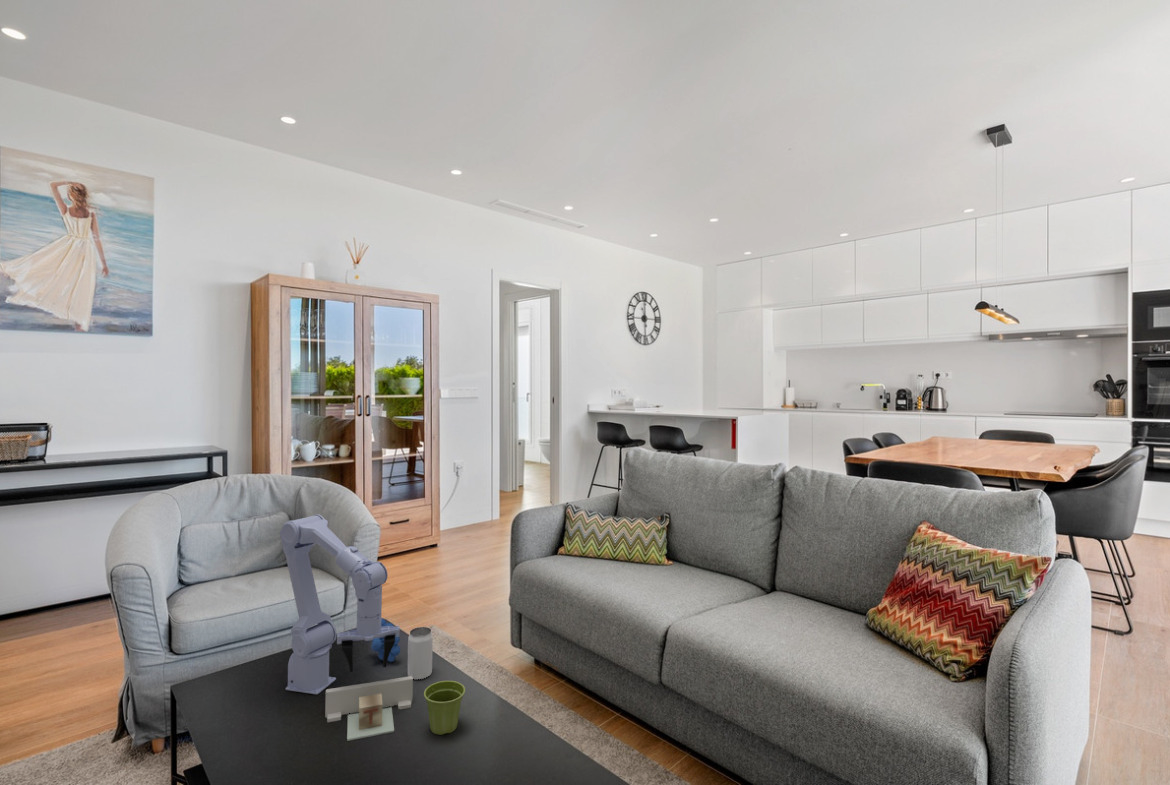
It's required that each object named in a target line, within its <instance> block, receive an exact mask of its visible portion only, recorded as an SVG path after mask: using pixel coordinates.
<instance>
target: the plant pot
mask: <svg viewBox="0 0 1170 785" xmlns="http://www.w3.org/2000/svg"><path fill="white" fill-rule="evenodd" d="M465 693H466V687H465V686H464V684H462V683H460V682H458V681H455V680H441V681H437V682H434V683H431V684H430V685H428V686H427V687H426V688H425V689H424V692H423V696H424V699H425V700H426V704H427V711H428V720H429V727H430V730H431V732H432V733H433V734H435V735H440V736H441V735H444V734H452V733H453V732H454V731H455V730H456V729H457V727H458V723H459V716H460V710H461V706H462V705H461V703H462V700H463V698H464V695H465Z"/></svg>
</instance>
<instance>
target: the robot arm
mask: <svg viewBox="0 0 1170 785" xmlns="http://www.w3.org/2000/svg"><path fill="white" fill-rule="evenodd" d="M329 527H330V526H329V521H328V520H327V519H325V518H324V516H322V515H321V514H318V513H317V514H313V515H312V516H311V515H310V516H307V517H303V518H302V517H301V518H297V519H293V520H287V521H285V522H284V524H283V525H282V527H281V529H280V530H279V536H280V537H279V538H280V542H281V546H282V550H283V554H285V560H286V564H287V569H288V573H289V574H288V575H289V577H290V582H291V587H292V591H293V596H294V601H295V605H296V610H297V614H298V619H297V621H296V622H295V623H294V625H293V626H292V628H291V629H290V631H291V649H292V651H293V652H292V653H291V655H290V657H289V660H288V664H287V686H286V687H285V691H289V692H299V693H304V694H312V695H319V694H320V693H321V692H323V691H324V690H326V688H327V687H329V686H331V685H332V684H333V683H334V682H335V681H336V680H337V677H335V676H334V677H333V676H330V649H332V646H333V645H332V644H333V643H334V642H336V644H337V645H341V649H342V652H343V654H344V657H346V660H347V663H348V667H349V673H353V672H354V657H353V654H354V653H353V650H354V648H353V646H354V645H353V644H354V642H355V641H356V642H357V641H363V640H364V641H366V642H369V641H371V640H373V639H374V638H382V637H384V654H383V660H382V668H387V663H388V656H389V654H390V651H391V649H392V647H393V645H394V643H395V637H400V635H401V633H400V632H401V629H400V625H396V626H395V625H393V626H381V618H382V610H383V609H382V604H383V601H382V600H383V585H384V584H385V583H386V582H387V580H388V570H387V568H386V566H385V565H384V564H383V562H381V561H374V560H371V559H369V558H368V557H367V556H366V555H364V554H363V553H362V552H360V550H359V548H358V547H356V546H353V545H352V546H347V545H345V544H344V543H343V541H342V540H340V538H339V537H338V536H337V535H336V534H335V533H334V532H333V531H332V530H331V529H330V528H329ZM315 545H318V546H320V548H322V549H324V550H325V551H327V552H328V553H329V554H331V555H332V556H333V557H335V564H336V565H337V566H338V568H340V569H341V570H342V571H343V572H344V573H345V574H346V575H348V576H349V577H350V579H351V583H352V585H353V588H354V591H355V594H354V595H355V597H356V599H357V601H356V603H357V604H356V628H355V629H351V630H347V631H343V632H337V628H336V626H335V624H334V623H333V621H332V618H331V614H328V613H326V612H325V611H322V610H321V604H320V600H319V597H318V592H317V586H316V583H315V578H314V575H313V574H314V572H313V569H312V565H311V559H310V555H309V553H310V551H311V550H312V548H313V546H315Z"/></svg>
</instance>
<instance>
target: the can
mask: <svg viewBox="0 0 1170 785" xmlns="http://www.w3.org/2000/svg"><path fill="white" fill-rule="evenodd" d="M407 639H408V640H407V677H408V676H412V677H413V679H414V680H416V681H421V680H424V678H425V679H427V678H428V676H429V677H431V675H432V674H433V673H432V672H433V642H434V641H433V640H434V638H433V633H432V628H430V627H426V626H421V627H420V626H419V627H414V628H412V629H411V630H410V631H409V635H408V637H407ZM426 677H427V678H426ZM418 679H419V680H418ZM420 679H421V680H420ZM414 680H413V681H414Z"/></svg>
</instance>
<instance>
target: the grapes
mask: <svg viewBox="0 0 1170 785" xmlns="http://www.w3.org/2000/svg"><path fill="white" fill-rule="evenodd" d="M381 626H394V624H393V623H391V622H387V620H386V619H385V618H383V617H381ZM400 640H401V638H400V636H399V637H395V643H394V645H393V647H392V649H391V651H390V654H389V656H388V660H387V662H390V663H392V662H394V661H395V660H396V656H399V655H400V653H401V647H400V646H399V643H400ZM370 641H372V642H371V647H370V648H371V650H372V652H375V653H377V657H378V659H379V660H381V661H383V654H384V637H382V638H374V639H373V640H370Z"/></svg>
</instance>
